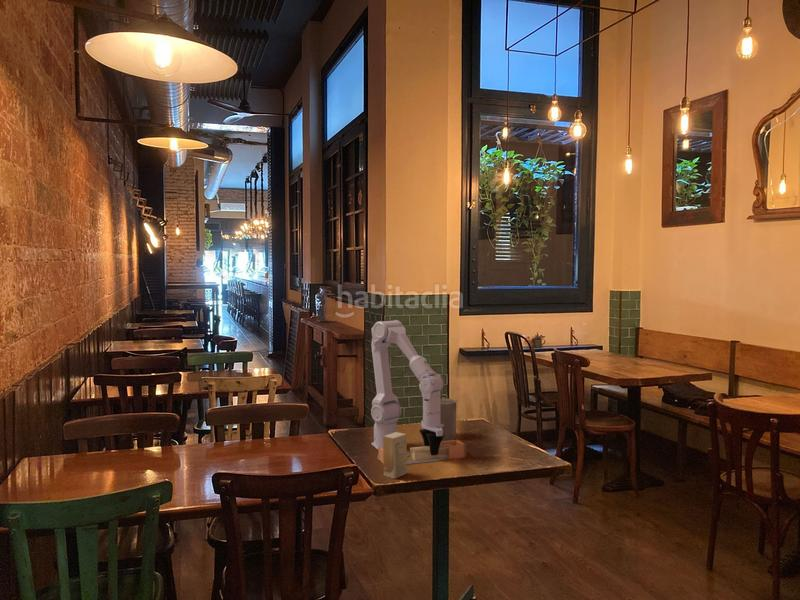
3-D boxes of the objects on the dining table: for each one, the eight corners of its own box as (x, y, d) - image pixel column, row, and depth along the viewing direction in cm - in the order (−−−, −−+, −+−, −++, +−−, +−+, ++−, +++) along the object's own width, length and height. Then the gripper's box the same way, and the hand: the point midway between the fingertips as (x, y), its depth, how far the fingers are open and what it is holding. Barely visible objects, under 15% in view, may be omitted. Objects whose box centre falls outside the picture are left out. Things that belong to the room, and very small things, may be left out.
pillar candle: (425, 435, 233) (425, 396, 232) (448, 433, 237) (448, 393, 236) (438, 442, 224) (438, 400, 223) (461, 439, 228) (461, 398, 227)
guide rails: (377, 458, 203) (377, 456, 203) (437, 452, 210) (437, 450, 210) (385, 466, 194) (385, 463, 194) (447, 460, 201) (447, 457, 201)
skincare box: (396, 471, 189) (396, 431, 189) (407, 474, 187) (407, 433, 186) (382, 476, 184) (382, 435, 184) (393, 479, 182) (393, 437, 181)
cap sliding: (378, 459, 202) (378, 447, 202) (395, 457, 204) (395, 445, 204) (384, 465, 195) (384, 452, 195) (402, 463, 197) (402, 451, 197)
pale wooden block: (410, 458, 204) (410, 447, 204) (449, 454, 208) (449, 444, 208) (414, 461, 200) (414, 450, 200) (454, 457, 205) (454, 447, 205)
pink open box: (441, 453, 209) (441, 441, 209) (457, 451, 211) (457, 439, 211) (449, 458, 202) (449, 446, 202) (466, 457, 204) (466, 445, 204)
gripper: (451, 415, 198) (451, 457, 199) (434, 406, 212) (434, 446, 212) (431, 417, 196) (431, 459, 196) (415, 408, 210) (415, 448, 210)
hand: (431, 453), depth 204 cm, fingers closed on pale wooden block, 4 cm apart
